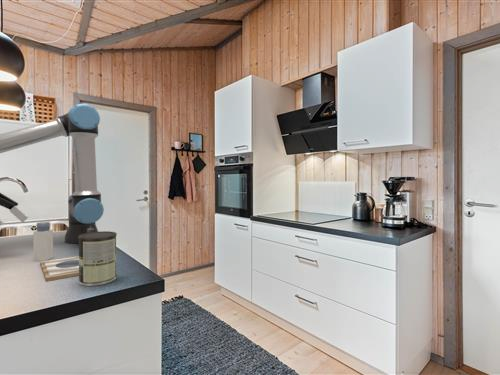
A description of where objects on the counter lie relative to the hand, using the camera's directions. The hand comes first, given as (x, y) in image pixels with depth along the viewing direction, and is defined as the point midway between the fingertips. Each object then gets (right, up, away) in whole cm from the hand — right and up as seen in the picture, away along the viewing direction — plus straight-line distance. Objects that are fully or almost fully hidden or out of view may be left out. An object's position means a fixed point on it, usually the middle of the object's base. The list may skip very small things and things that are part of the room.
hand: (13, 222), depth 106 cm
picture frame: (+27, -15, -8) cm, 31 cm away
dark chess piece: (+24, -15, +10) cm, 29 cm away
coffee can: (+42, -15, -20) cm, 49 cm away
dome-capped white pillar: (+10, -14, +2) cm, 17 cm away
